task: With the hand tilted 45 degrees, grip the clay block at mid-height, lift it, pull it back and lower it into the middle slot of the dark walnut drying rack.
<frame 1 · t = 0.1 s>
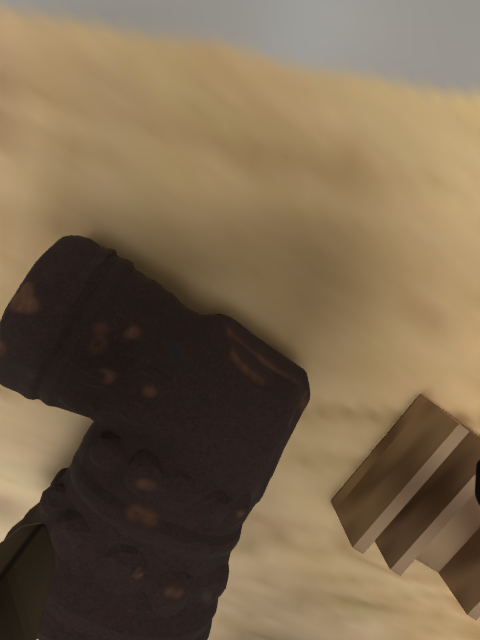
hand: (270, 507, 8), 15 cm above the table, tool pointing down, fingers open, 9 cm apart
rack: (446, 496, 26), on the table
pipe: (149, 405, 23), on the table
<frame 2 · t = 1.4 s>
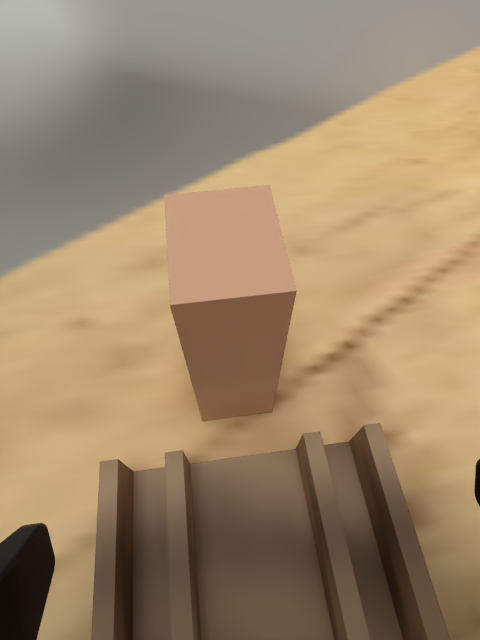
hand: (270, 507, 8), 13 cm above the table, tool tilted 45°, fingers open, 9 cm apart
rack: (255, 555, 19), on the table
clay block: (232, 376, 24), on the table
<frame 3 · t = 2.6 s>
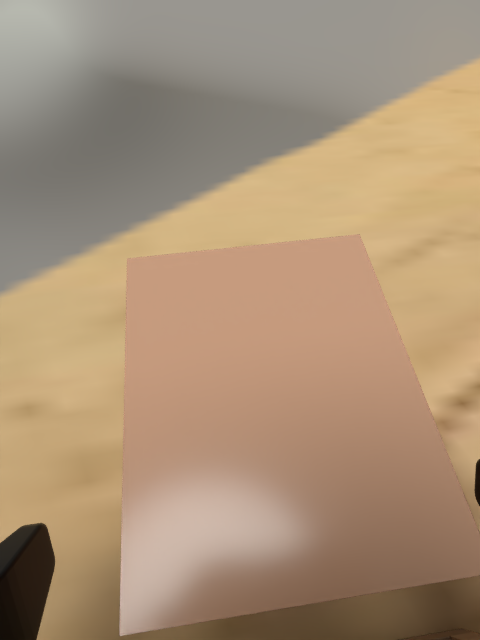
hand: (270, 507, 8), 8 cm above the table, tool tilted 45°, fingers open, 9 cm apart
clay block: (252, 500, 16), on the table
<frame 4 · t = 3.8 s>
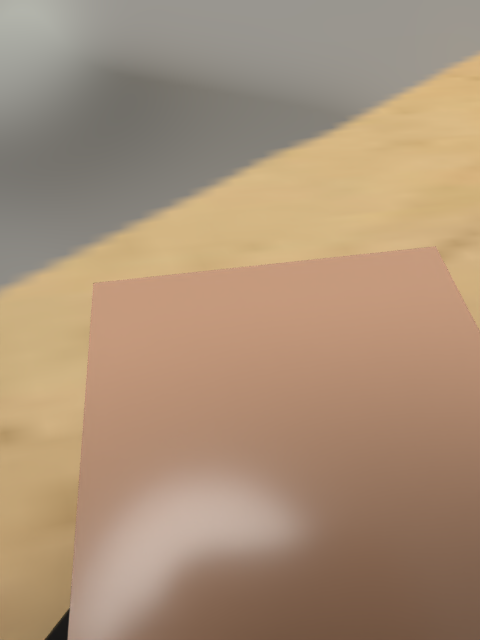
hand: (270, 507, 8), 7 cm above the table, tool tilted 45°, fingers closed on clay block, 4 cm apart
clay block: (260, 544, 14), on the table, touching gripper
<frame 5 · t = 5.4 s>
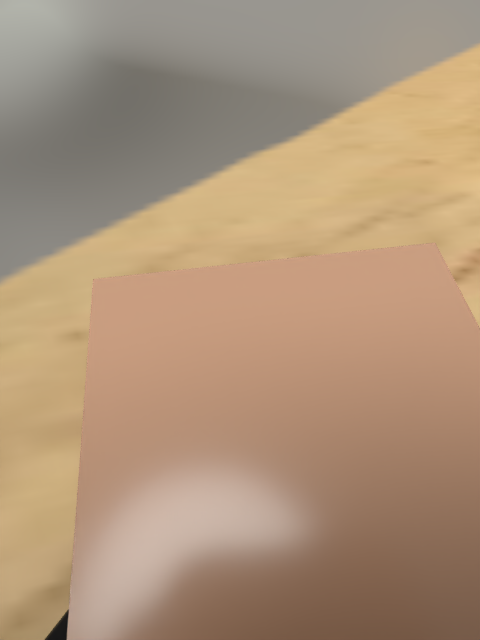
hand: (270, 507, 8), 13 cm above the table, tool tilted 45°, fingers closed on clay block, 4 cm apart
clay block: (260, 543, 14), point 6 cm above the table, touching gripper
when the fingers open (8 cm above the table, at t = 6.9 s): clay block stays where it is, resting on rack.
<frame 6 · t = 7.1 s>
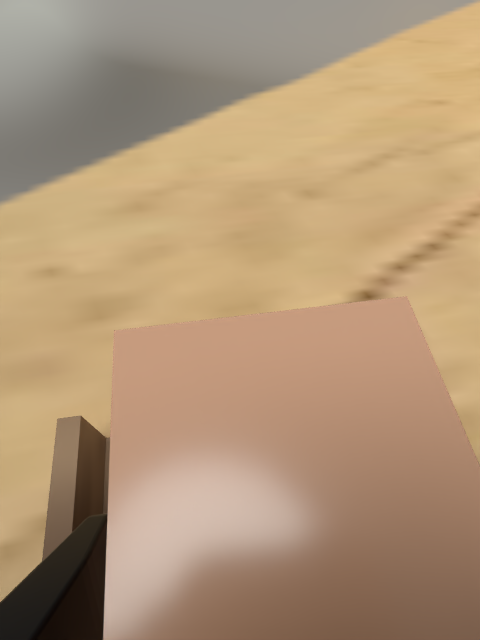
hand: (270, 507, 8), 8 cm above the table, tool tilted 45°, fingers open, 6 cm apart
rack: (258, 540, 15), on the table
clay block: (259, 546, 14), point 1 cm above the table, touching rack
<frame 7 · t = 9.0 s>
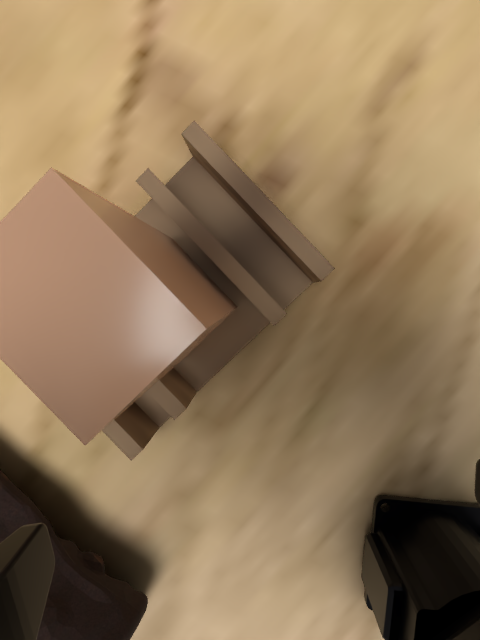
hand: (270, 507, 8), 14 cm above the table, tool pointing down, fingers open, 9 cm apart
rack: (178, 295, 22), on the table
clay block: (178, 298, 21), point 1 cm above the table, touching rack
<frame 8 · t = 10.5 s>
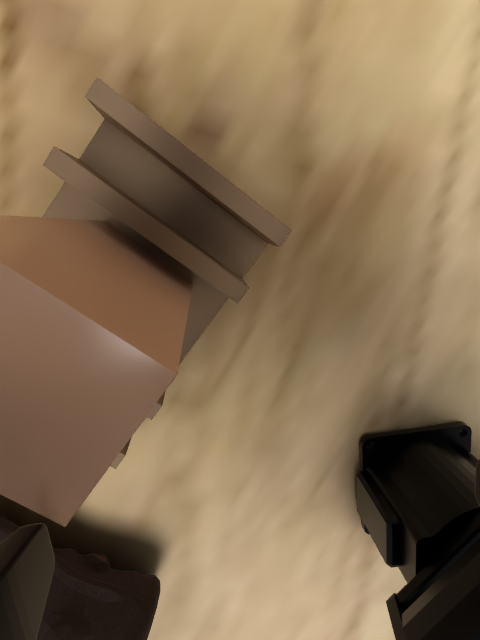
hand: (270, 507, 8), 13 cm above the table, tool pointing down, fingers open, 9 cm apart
rack: (125, 282, 20), on the table
clay block: (125, 287, 19), point 1 cm above the table, touching rack
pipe: (1, 587, 23), on the table
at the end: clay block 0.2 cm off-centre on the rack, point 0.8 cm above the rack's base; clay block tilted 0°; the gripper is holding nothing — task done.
